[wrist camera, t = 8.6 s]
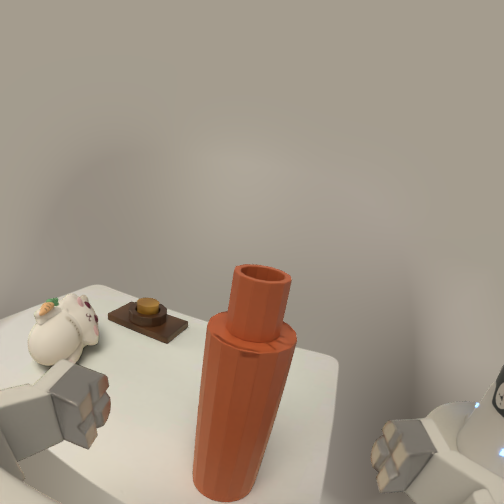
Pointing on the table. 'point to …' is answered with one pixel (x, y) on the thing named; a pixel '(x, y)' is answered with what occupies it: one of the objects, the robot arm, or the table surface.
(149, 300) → the button
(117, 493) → the table surface
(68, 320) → the cat figurine
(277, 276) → the orange bottle
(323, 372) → the table surface
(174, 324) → the brown button base
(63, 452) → the table surface
